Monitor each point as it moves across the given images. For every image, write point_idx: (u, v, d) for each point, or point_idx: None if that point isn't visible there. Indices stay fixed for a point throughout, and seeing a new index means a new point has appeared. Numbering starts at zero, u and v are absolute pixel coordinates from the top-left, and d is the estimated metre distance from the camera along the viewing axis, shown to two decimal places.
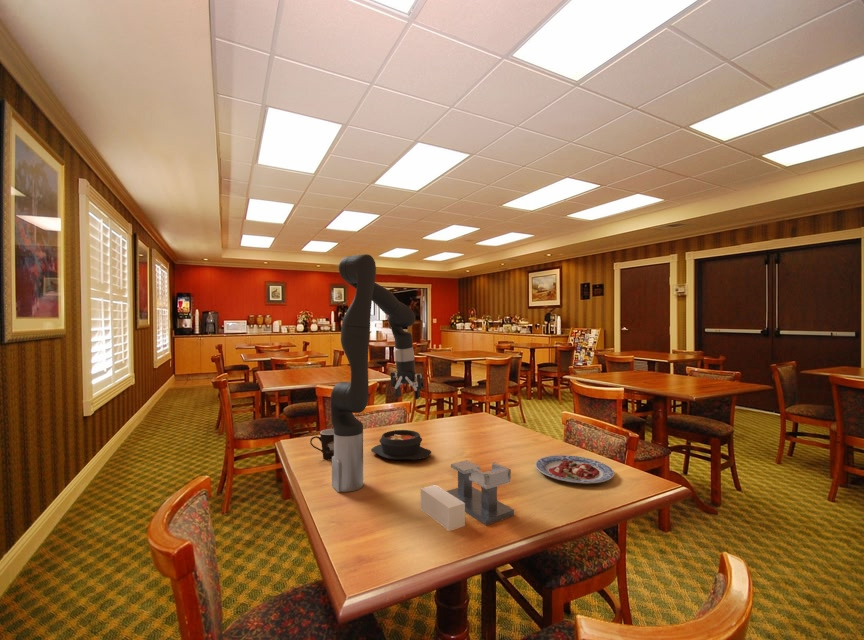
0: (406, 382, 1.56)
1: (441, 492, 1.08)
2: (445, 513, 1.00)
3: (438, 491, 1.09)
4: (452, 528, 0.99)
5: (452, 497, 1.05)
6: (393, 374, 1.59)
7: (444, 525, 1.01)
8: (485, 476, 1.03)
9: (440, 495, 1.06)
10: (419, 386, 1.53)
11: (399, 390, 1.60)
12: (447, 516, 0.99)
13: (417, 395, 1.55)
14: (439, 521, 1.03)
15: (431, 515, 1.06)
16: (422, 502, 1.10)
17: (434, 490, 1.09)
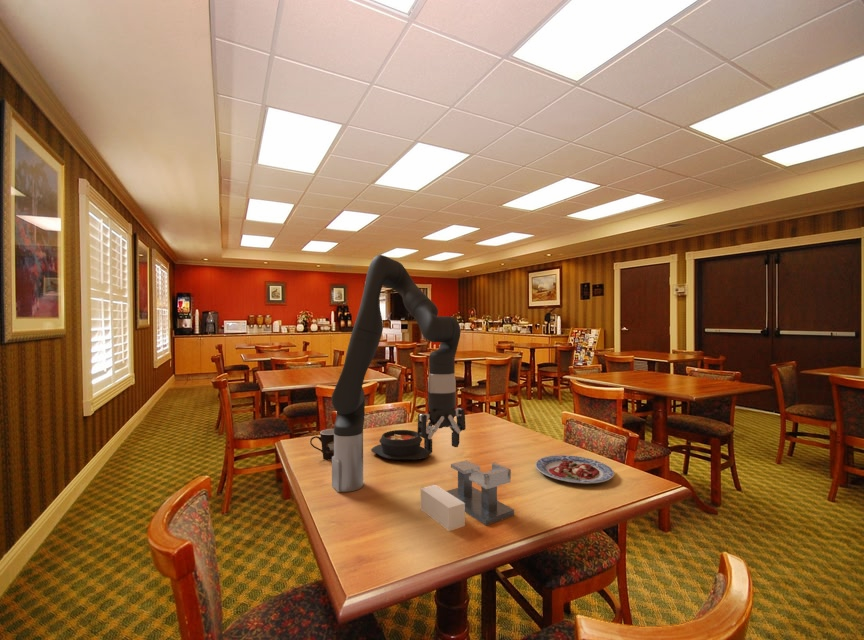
0: None
1: (441, 492, 1.08)
2: (445, 513, 1.00)
3: (438, 491, 1.09)
4: (452, 528, 1.00)
5: (452, 497, 1.05)
6: None
7: (444, 525, 1.01)
8: (485, 476, 1.03)
9: (440, 495, 1.06)
10: None
11: (453, 436, 1.09)
12: (447, 516, 0.99)
13: None
14: (439, 521, 1.03)
15: (431, 515, 1.06)
16: (422, 502, 1.10)
17: (434, 490, 1.09)
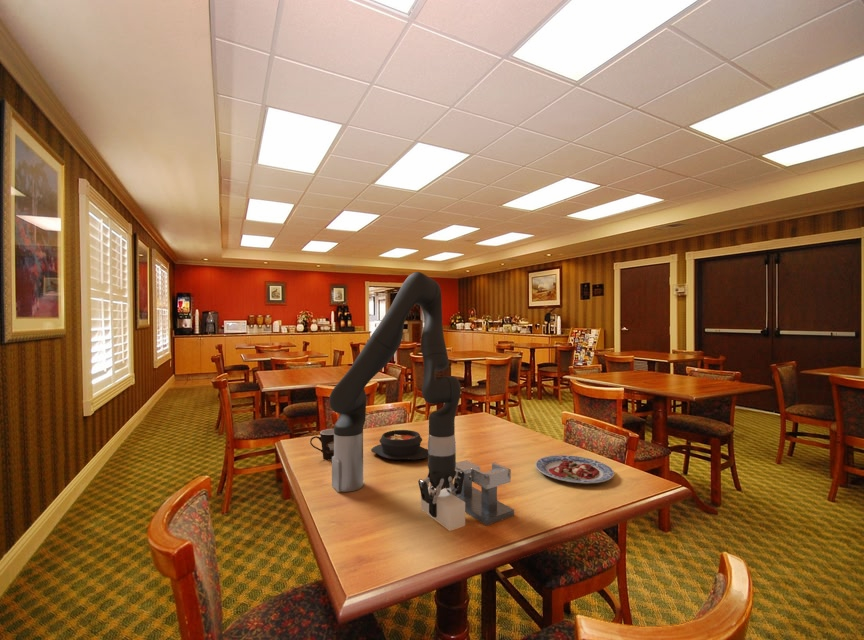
0: None
1: (441, 491, 1.08)
2: (446, 512, 1.00)
3: None
4: (452, 527, 1.00)
5: (452, 496, 1.05)
6: None
7: (444, 524, 1.01)
8: (485, 476, 1.03)
9: (440, 494, 1.06)
10: None
11: None
12: (448, 515, 1.00)
13: None
14: (439, 520, 1.03)
15: None
16: (422, 501, 1.10)
17: None
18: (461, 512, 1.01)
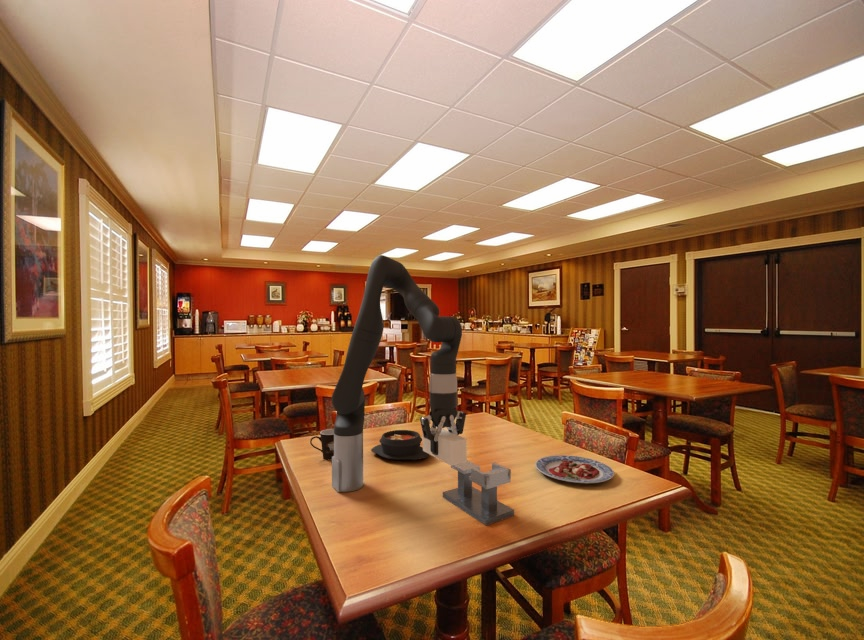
0: None
1: (443, 431, 1.09)
2: (447, 447, 1.01)
3: None
4: (454, 462, 1.00)
5: (454, 435, 1.05)
6: None
7: (446, 460, 1.01)
8: (485, 476, 1.03)
9: (441, 433, 1.07)
10: None
11: None
12: (449, 450, 1.00)
13: None
14: (441, 457, 1.03)
15: None
16: (424, 442, 1.10)
17: None
18: (462, 448, 1.01)
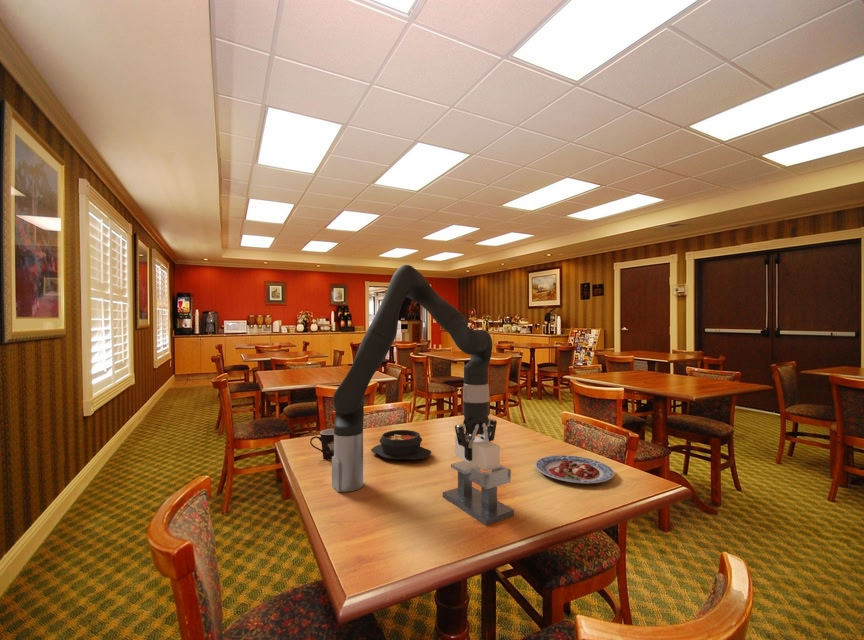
0: None
1: (475, 438, 1.15)
2: (482, 454, 1.07)
3: None
4: (488, 468, 1.06)
5: (486, 442, 1.12)
6: None
7: (480, 466, 1.07)
8: (485, 476, 1.03)
9: (474, 440, 1.13)
10: None
11: None
12: (484, 457, 1.06)
13: None
14: (475, 463, 1.09)
15: None
16: (457, 448, 1.17)
17: None
18: (496, 454, 1.08)
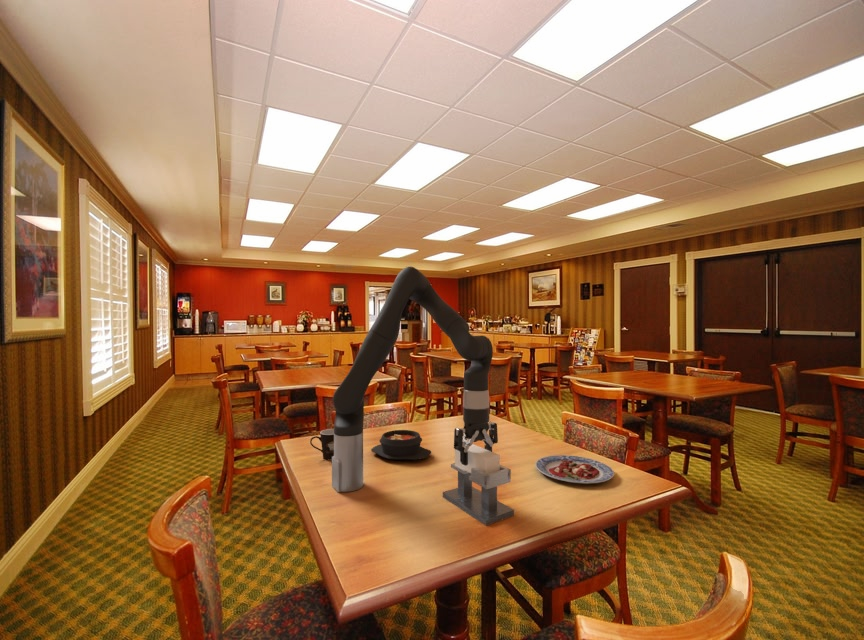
0: None
1: (475, 447, 1.15)
2: (482, 463, 1.07)
3: (472, 446, 1.16)
4: None
5: (486, 451, 1.12)
6: None
7: None
8: (485, 476, 1.03)
9: (474, 449, 1.13)
10: None
11: (486, 449, 1.15)
12: (484, 466, 1.06)
13: None
14: None
15: (466, 468, 1.12)
16: (456, 457, 1.16)
17: None
18: (496, 464, 1.08)
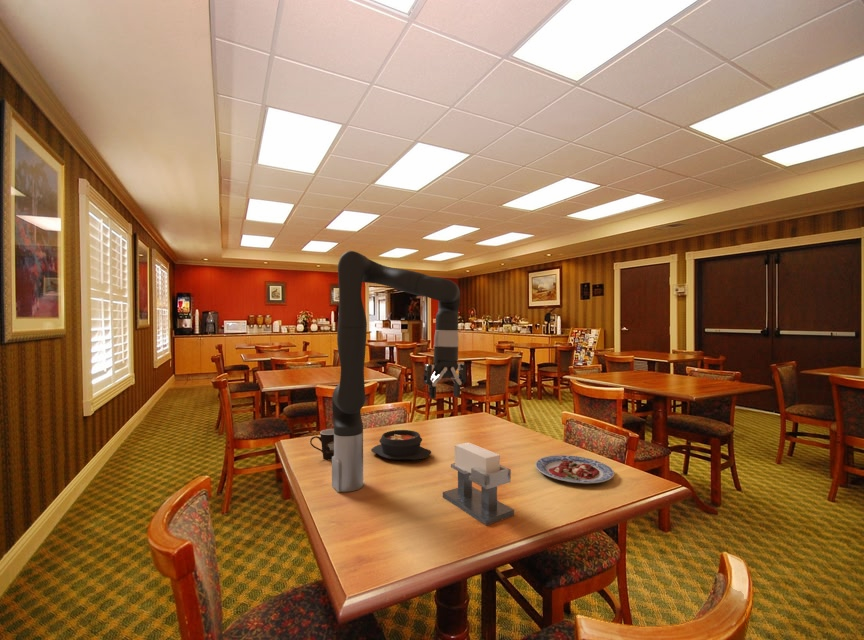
0: None
1: (475, 447, 1.15)
2: (482, 463, 1.07)
3: (472, 446, 1.16)
4: None
5: (486, 451, 1.12)
6: None
7: None
8: (485, 476, 1.03)
9: (474, 449, 1.13)
10: None
11: (455, 387, 1.23)
12: (484, 466, 1.06)
13: None
14: None
15: (466, 468, 1.12)
16: (456, 457, 1.16)
17: (468, 446, 1.16)
18: (496, 464, 1.08)
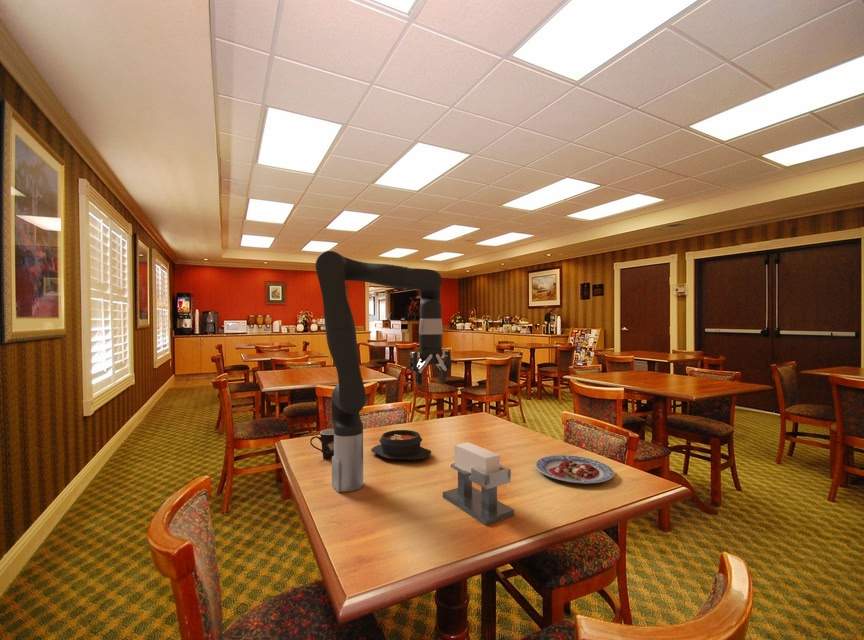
0: None
1: (475, 447, 1.15)
2: (482, 463, 1.07)
3: (472, 446, 1.16)
4: None
5: (486, 451, 1.12)
6: None
7: None
8: (485, 476, 1.03)
9: (474, 449, 1.13)
10: None
11: (441, 373, 1.28)
12: (484, 466, 1.06)
13: None
14: None
15: (466, 468, 1.12)
16: (456, 457, 1.16)
17: (468, 446, 1.16)
18: (496, 464, 1.08)
